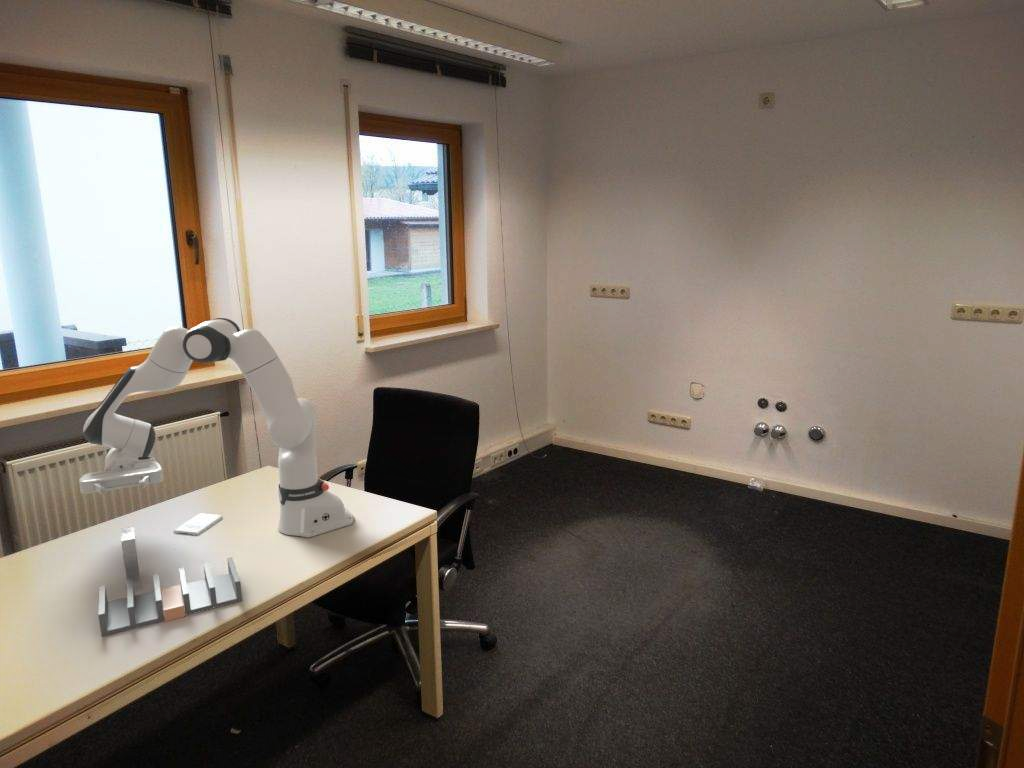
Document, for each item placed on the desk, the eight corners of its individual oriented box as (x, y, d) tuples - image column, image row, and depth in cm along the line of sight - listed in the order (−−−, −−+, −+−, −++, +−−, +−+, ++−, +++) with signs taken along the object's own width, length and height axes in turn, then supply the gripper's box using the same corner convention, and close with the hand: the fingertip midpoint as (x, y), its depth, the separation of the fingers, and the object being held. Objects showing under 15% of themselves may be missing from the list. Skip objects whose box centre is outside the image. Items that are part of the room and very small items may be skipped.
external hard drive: (222, 519, 216) (197, 537, 204) (199, 517, 218) (173, 534, 206) (222, 515, 216) (197, 532, 204) (199, 512, 217) (173, 529, 206)
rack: (234, 575, 181) (232, 557, 180) (242, 602, 169) (240, 582, 168) (102, 606, 167) (99, 586, 166) (101, 637, 154) (98, 616, 153)
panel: (140, 574, 182) (134, 526, 179) (141, 588, 175) (134, 538, 172) (128, 577, 181) (120, 528, 177) (128, 591, 174) (121, 541, 170)
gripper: (78, 467, 190) (75, 483, 178) (160, 455, 200) (162, 471, 188) (81, 488, 191) (78, 506, 180) (162, 476, 201) (165, 492, 189)
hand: (122, 488), depth 184 cm, fingers open, 8 cm apart
